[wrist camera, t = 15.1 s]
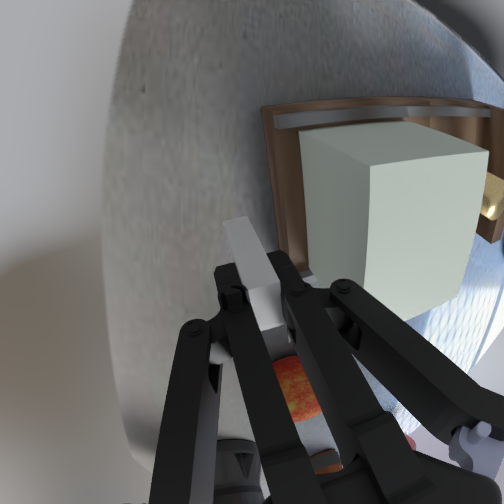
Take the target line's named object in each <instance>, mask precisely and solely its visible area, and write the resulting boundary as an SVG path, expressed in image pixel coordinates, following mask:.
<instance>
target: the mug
mask: <svg viewBox="0 0 504 504" xmlns="http://www.w3.org/2000/svg"><path fill="white" fill-rule="evenodd" d="M309 459H310V461H311V464H312V466H313V469H314V472H315V474H324V473H332V472H338V471H340V470H342V469H343V468H342V463H341V459H340V457H339V454H338V452H337V451H335V450H326V451H322V452H319V453H317V454H315V455H313V456H311V457H309Z"/></svg>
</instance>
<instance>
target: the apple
mask: <svg viewBox="0 0 504 504" xmlns="http://www.w3.org/2000/svg"><path fill="white" fill-rule="evenodd" d="M272 365H273V367H274V370H275V373H276V376H277V378H278V381H279V384H280V387H281V389H282V392H283V395H284V397H285V400H286V403H287V406H288V408H289V411H290V414H291V416H292V419H293V422H298V421H303V420H306V419H309V418H311V417H314V416H316V415H317V414H319V413H320V412H322V410H321V408H320V406H319V403H318V401H317V399H316V396H315V394H314V392H313V389H312V387H311V385H310V382H309V380H308V378H307V376H306V373H305V371H304V369H303V366H302V364H301V362H300V359H299V357H298V355H296V356H288V357H284V358H282V359H279V360H277V361H275V362H273V363H272Z"/></svg>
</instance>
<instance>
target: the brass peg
mask: <svg viewBox="0 0 504 504" xmlns="http://www.w3.org/2000/svg"><path fill="white" fill-rule="evenodd" d="M503 211H504V180H502V179H501V178H499V177H497V176H495V175H493V174H491V173H489V172H487V173H486V180H485V187H484V193H483V198H482V204H481V209H480V213H481V214H482V215H484V216H485V217H487V218H488V219H490V220H496V219H497V218H498V217H499V216H500V215H501V214H502V213H503Z"/></svg>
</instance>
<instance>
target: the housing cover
mask: <svg viewBox="0 0 504 504" xmlns="http://www.w3.org/2000/svg"><path fill="white" fill-rule="evenodd" d="M299 140H300V150H301V160H302V172H303V183H304V196H305V209H306V224H307V241H308V260H309V268H310V270H311V271H312V273H313V274H314V276H315V277H316V279H317V280H318V282H319V283H320V285H321V286H322V288H330V286H331V284H332V283H333V282H334V281H335V280H338V279H345V278H346V279H350V280H352V281H354V282H356V283H357V284H358V285H360V286H361V287H362V288H363V289H365V290H366V291H367V292H369V293H370V294H371V295H372V296H374V297H375V298H376V299H377V300H379V301H380V302H381V303H382V304H384V305H385V306H386V307H387V308H388V309H390V310H391V311H392V312H393V313H395V314H396V315H397V316H398V317H400V318H401V319H402V320H403V321H406V320H408V319H411V318H413V317H415V316H417V315H420V314H422V313H424V312H426V311H428V310H430V309H432V308H435V307H437V306H439V305H441V304H443V303H445V302H447V301H449V300H451V299H453V298H455V297H457V295H458V292H459V289H460V286H461V283H462V280H463V276H464V273H465V270H466V266H467V263H468V259H469V256H470V252H471V248H472V245H473V241H474V237H475V232H476V228H477V224H478V219H479V214H480V209H481V204H482V198H483V193H484V187H485V180H486V173H487V165H488V157H489V151H488V150H485V149H483V148H481V147H478V146H476V145H474V144H471V143H469V142H466V141H464V140H461V139H459V138H456V137H453V136H451V135H448V134H445V133H443V132H440V131H437V130H434V129H431V128H428V127H425V126H422V125H419V124H416V123H413V122H410V121H406V120H399V121H383V122H370V123H358V124H348V125H339V126H330V127H322V128H314V129H307V130H300V131H299Z"/></svg>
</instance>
